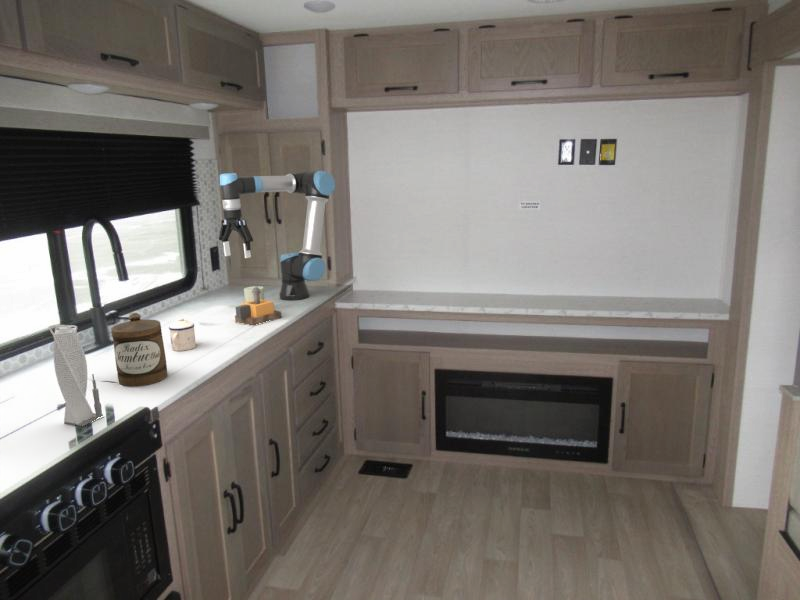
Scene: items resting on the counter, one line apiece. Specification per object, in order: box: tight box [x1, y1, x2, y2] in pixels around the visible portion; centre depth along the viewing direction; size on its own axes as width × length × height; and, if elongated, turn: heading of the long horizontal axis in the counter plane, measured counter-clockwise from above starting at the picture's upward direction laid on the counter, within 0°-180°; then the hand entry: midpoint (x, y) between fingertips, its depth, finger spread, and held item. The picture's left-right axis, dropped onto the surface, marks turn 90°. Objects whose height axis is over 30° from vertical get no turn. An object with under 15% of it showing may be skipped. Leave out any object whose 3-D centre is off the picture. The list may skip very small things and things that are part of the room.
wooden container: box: [110, 312, 168, 387], centre depth 191 cm, size 15×15×22 cm
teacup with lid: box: [168, 317, 197, 352], centre depth 223 cm, size 12×9×12 cm
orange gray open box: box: [235, 299, 275, 319], centre depth 260 cm, size 16×10×5 cm, turn 143°
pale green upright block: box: [243, 285, 265, 303], centre depth 277 cm, size 9×9×12 cm
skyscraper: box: [47, 324, 104, 428], centre depth 159 cm, size 8×8×28 cm
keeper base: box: [234, 287, 282, 326], centre depth 262 cm, size 16×12×15 cm
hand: (237, 256), depth 266 cm, fingers open, 13 cm apart
